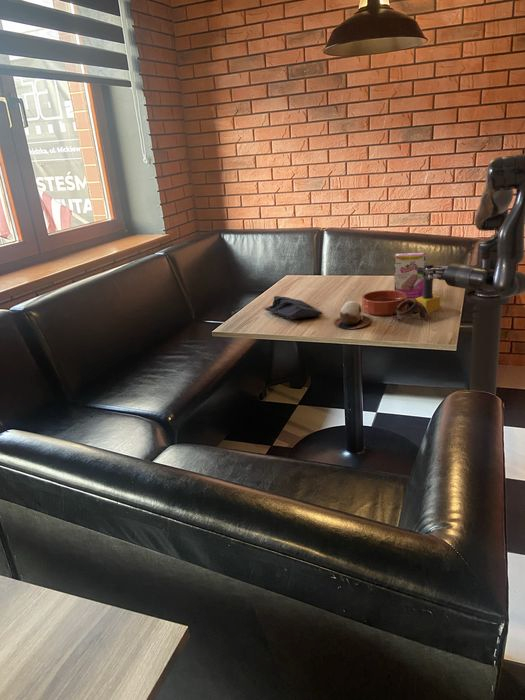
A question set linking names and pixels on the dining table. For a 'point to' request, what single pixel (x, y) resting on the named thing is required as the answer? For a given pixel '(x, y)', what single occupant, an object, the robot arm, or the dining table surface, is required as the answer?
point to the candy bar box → (409, 273)
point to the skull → (352, 316)
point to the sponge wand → (429, 294)
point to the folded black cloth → (292, 308)
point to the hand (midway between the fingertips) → (421, 269)
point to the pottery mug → (411, 309)
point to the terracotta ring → (383, 302)
